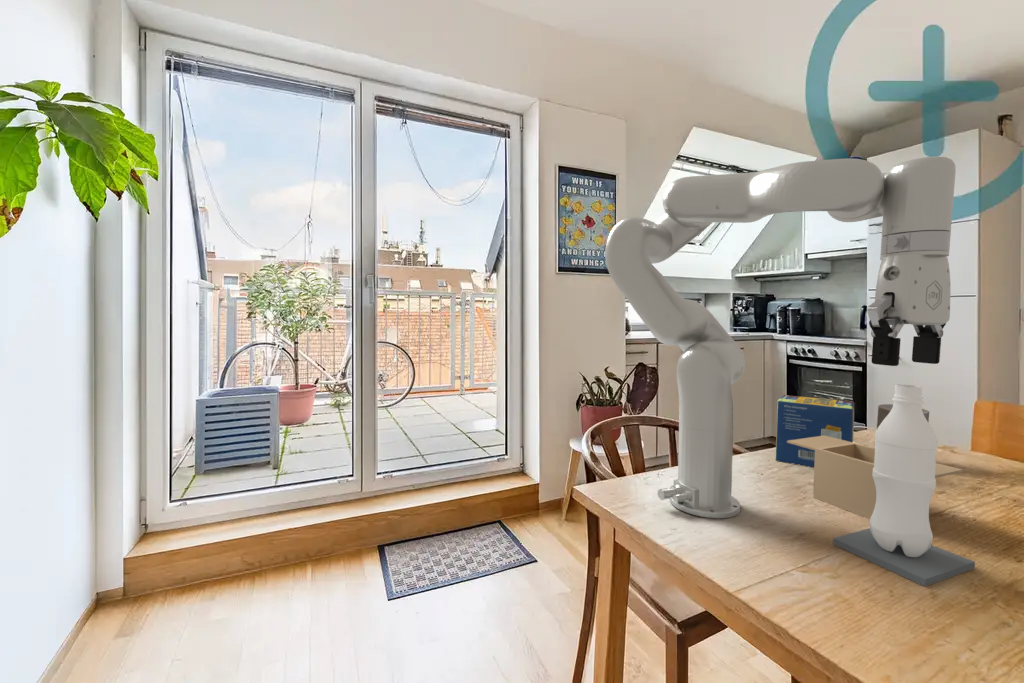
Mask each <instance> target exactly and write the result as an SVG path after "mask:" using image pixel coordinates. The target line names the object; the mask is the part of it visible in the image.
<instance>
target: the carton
mask: <svg viewBox="0 0 1024 683" xmlns="http://www.w3.org/2000/svg"><path fill="white" fill-rule="evenodd" d="M787 443H790V444H794V445H797V446H801V447H804V448H808V449H811V450H815V463H814V467H813V468H814V469H813V488H812V489H813V490H812V491H813V493H812V494H813V495H812V496H813V497H812V498H813V499H815V500H816V499H817V500H818V501H821V502H825V503H826V504H829V505H832V506H834V507H837V508H840V509H843V510H845V511H847V510H848V512H850V513H852V512H853V514H855V515H858V516H860V515H861V517H863V518H866V519H868V518H869V520H870V518H871V516H872V514H873V511H874V508H875V504H876V486H875V482H874V479H873V476H872V474H873V468H874V458H875V447H873V446H869V445H864V444H862V443H856V442H854V441H853V442H849V441H845V440H841V439H837V438H833V437H828V436H817V437H810V438H803V439H796V440H789V441H787ZM963 472H964V469H962V468H958V467H954V466H950V465H946V464H942V463H938V462H936V468H935V479H936V478H942V477H946V476H949V475H954V474H955V475H956V474H958V473H959V474H960V473H963Z"/></svg>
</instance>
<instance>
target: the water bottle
mask: <svg viewBox="0 0 1024 683" xmlns="http://www.w3.org/2000/svg"><path fill="white" fill-rule="evenodd" d="M922 388H923V387H922V386H920V385H914V384H903V383H902V384H895V385H894V394H893V397H892V398H891V400H892V401H893V407H892V409H891V411H890V413H889V414H888V415H887V416H886V418H885V419H884V420H883V421H882V423H881V424H880V425H879V427H878V429H877V428H876V431H875V434H874V440H875V444H874V445H875V446H874V448H875V458H874V468H873V474H872V476H873V479H874V482H875V486H876V504H875V508H874V511H873V514H872V516H871V518H870V519H869V528H870V530H871V533H872V535H873V537H874V538H875V540H876V541H877V543H878V544H879V546H880V547H882V548H883V549H885V550H887V551H889V552H892V551H894V549H895V548H896V547H897V545H900V546H901V547H902V549H903V552H904V554H905V555H906V556H908V557H919V556H921V555H922V554H924V553H925V552H926V551H927V550H928V549H929V548H930V546H931V545H933V544H932V543H933V537H934V535H933V532H932V528H931V524H930V517H929V516H930V504H931V500H932V497H933V494H934V493H935V490H936V487H937V479H936V478H935V468H936V463H937V450H938V448H939V442H938V439H937V438H938V437H937V436H936V433H935V432H934V430H933V428H932V427H931V425H930V422H928V421H927V420H926V418H925V416H924V414H923V411H922V409H923V407H922V404H924V403H925V402H924V400H922V399H923V396H922V395H923V394H922V392H923V391H922V390H923V389H922Z"/></svg>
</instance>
